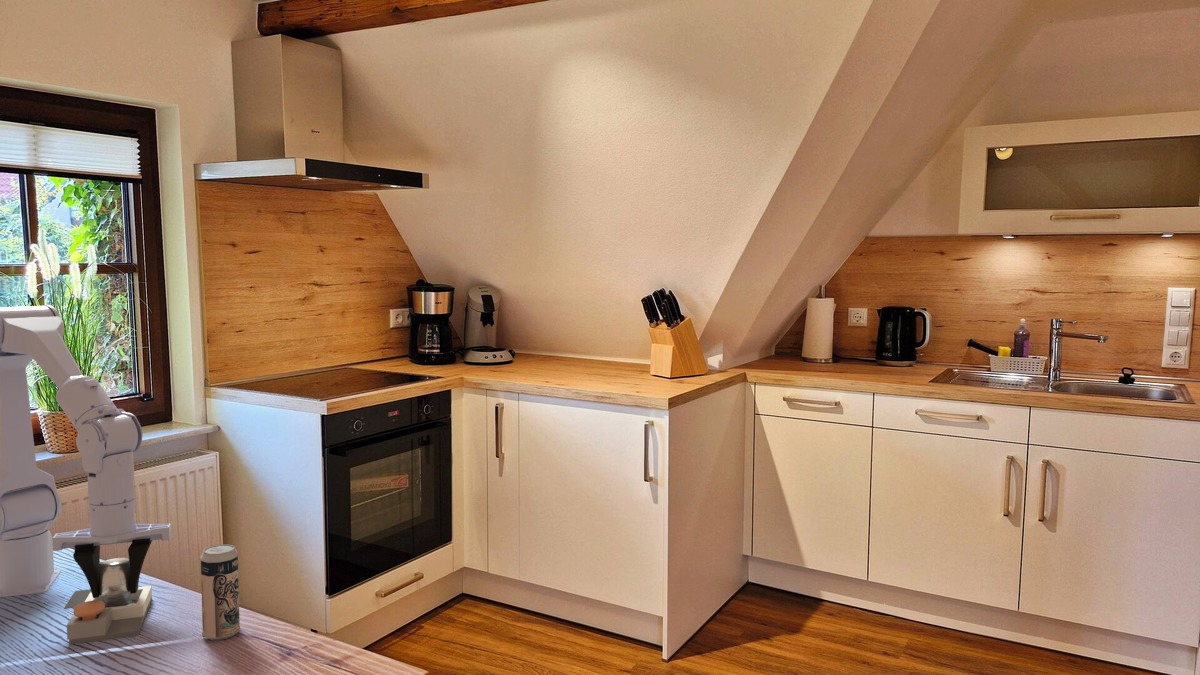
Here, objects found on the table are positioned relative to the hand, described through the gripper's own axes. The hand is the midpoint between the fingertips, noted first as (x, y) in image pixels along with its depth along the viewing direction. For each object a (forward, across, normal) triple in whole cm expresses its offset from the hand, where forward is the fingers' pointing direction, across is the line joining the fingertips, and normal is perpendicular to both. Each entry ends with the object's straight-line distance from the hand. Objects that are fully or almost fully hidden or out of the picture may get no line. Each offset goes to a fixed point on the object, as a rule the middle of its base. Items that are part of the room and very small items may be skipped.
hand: (115, 593), depth 120 cm
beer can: (+4, +14, -12) cm, 19 cm away
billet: (+2, 0, 0) cm, 2 cm away
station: (+3, 0, -2) cm, 4 cm away
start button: (+2, -2, -7) cm, 7 cm away
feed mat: (+3, -4, +8) cm, 10 cm away
